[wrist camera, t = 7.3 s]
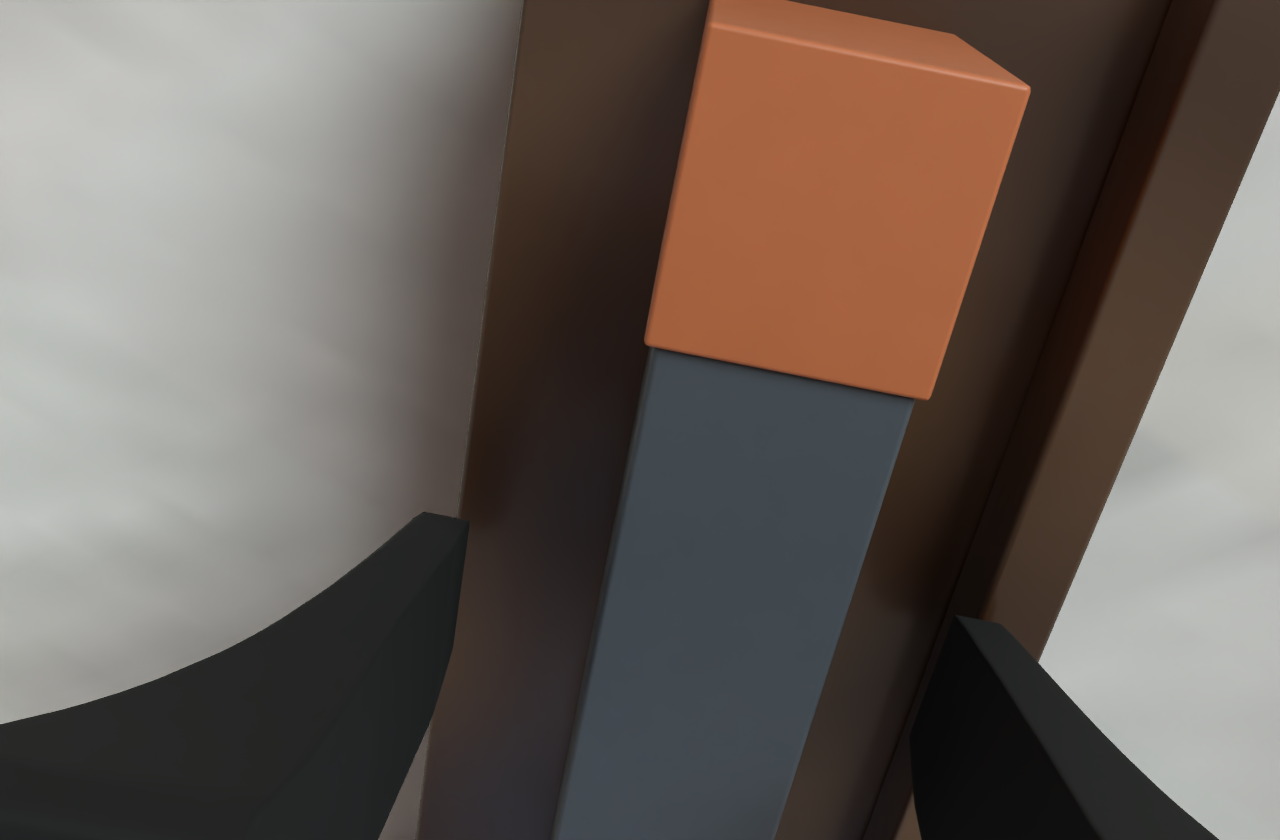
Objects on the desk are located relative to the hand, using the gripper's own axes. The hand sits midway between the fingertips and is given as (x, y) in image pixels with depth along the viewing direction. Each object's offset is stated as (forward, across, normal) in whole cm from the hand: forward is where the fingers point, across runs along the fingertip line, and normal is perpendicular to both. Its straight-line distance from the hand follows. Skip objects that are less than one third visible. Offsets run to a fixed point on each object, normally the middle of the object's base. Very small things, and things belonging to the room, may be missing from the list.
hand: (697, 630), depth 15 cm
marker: (+2, 0, 0) cm, 2 cm away
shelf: (+6, 0, 0) cm, 7 cm away
